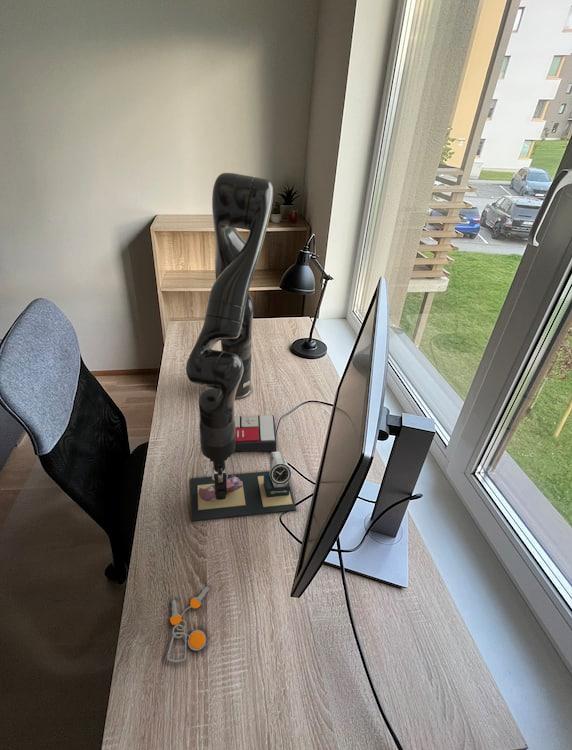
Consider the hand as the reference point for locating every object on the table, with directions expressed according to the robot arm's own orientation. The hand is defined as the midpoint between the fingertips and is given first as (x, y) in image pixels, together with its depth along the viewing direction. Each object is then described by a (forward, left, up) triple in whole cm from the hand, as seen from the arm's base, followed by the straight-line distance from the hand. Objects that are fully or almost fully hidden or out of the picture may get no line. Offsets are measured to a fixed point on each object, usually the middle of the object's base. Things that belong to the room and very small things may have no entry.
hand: (219, 482), depth 93 cm
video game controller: (0, 0, -4) cm, 4 cm away
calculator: (-19, +9, -5) cm, 21 cm away
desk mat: (0, +5, -5) cm, 7 cm away
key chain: (+27, -8, -5) cm, 29 cm away
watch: (0, +14, -4) cm, 14 cm away
